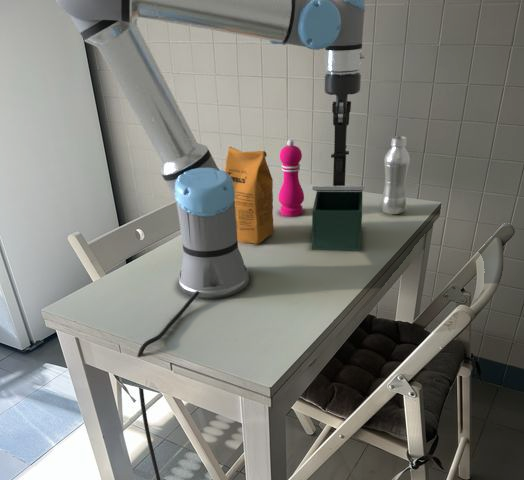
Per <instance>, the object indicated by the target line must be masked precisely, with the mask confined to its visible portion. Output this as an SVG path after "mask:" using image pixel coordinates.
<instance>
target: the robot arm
mask: <svg viewBox="0 0 524 480" xmlns="http://www.w3.org/2000/svg"><path fill="white" fill-rule="evenodd" d="M54 1H55V2H56V4H57V5H58V6H59V7H60V8H61V9H62V10H63V11H64V12H65V13H66V14H68V15H69V17H70V19H71V20H72V22H73V23H74V25H75V28H76V29H77V30H78V32H79V34H80V35H81V37H82V39H83V41H84V42H85V43H87V44H90V45H92V46H93V47H96V48H97V49H98V51H99V52H100V54H101V56H102V58H103V60H104V62H105V63H106V65H107V67H108V69H109V71H110V72H111V74H112V75H113V77H114V79H115V81H116V83H117V85H118V87H119V88H120V91H122V93H123V95H124V97H125V98H126V100H127V102H128V104H129V106H130V107H131V109H132V111H133V113H134V114H135V116H136V118H137V120H138V122H139V123H140V125H141V127H142V129H143V130H144V133H145V134H146V136H147V138H148V139H149V141H150V143H151V144H152V146H153V148H154V150H155V152H156V153H157V155H158V157H159V159H160V161H161V167H160V170H159V171H160V174H161V176H162V179H163V180H164V181H165V183H166V185H167V187H168V189H169V190H170V192H171V194H172V196H173V198H174V199H175V204H176V209H177V215H178V221H179V228H180V236H181V237H180V238H181V243H182V251H183V254H182V258H181V259H182V260H181V268H180V271H179V275H178V282H179V283H178V284H179V289H180V290H181V291H182V292H183V293H184V294H186V295H187V296H190V298H189V299H188V300H187V302H185V304H184V305H183V306H182V308H181V309H180V310H179V311H178V312H177V313H176V314H175V315H174V316H173V318H171V319H170V321H169V322H168V323H167V324H166V325H165V327H164V328H163V329H162V330H161V331H160V332H159V333H158V334H157V335H155V336H154V337H152V338H150V339H148V340H146V341H144V343H143V344H142V345H141V346H140V348H139V350H138V352H137V355H136V357H137V358H140V357H142V356H143V355H144V352H145V349H146V348H147V347H148V346H149V345H151V344H153V343H156V342H157V341H159V340H160V339H162V337H164V336H165V335H166V333H167V332H168V331H169V329H170V328H171V327H172V326H173V325H174V323H176V321H178V319H179V318H180V317H181V316H182V315H183V314H184V313H185V311H186V310H187V309H188V308H189V307H190V305H191V304H192V303H193V302H194V300H196V299H197V298H198V299H208V300H209V299H212V300H213V299H222V298H227V297H230V296H233V295H235V294H239V292H241V291H243V290H244V289H245V288H246V287H247V286H248V285H249V281H250V280H249V279H250V278H249V270H248V267H247V266H246V264H245V262H244V258H243V256H242V253H241V251H240V249H239V241H238V240H237V226H236V213H235V200H234V199H235V189H234V186H233V181H232V178H231V177H230V175H229V174H227V173H226V172H225V170H220V168H219V167H218V166H217V164H216V161H215V159H214V158H213V156H212V154H211V152H210V149H209V148H208V145H205V144H202V143H199V142H197V139H196V137H195V135H194V133H193V132H192V130H191V128H190V126H189V124H188V122H187V120H186V118H185V116H184V114H183V112H182V110H181V108H180V106H179V105H178V102H177V100H176V98H175V96H174V94H173V92H172V91H171V88H170V87H169V85H168V82H167V80H166V79H165V77H164V75H163V72H162V71H161V69H160V67H159V65H158V63H157V62H156V60H155V57H154V56H153V54H152V52H151V50H150V48H149V45H148V44H147V42H146V40H145V38H144V37H143V34H142V32H141V31H140V29H139V26H138V19H139V18H142V19H147V20H153V21H159V22H165V23H170V24H176V25H181V26H188V27H193V28H198V29H204V30H210V31H215V32H222V33H227V34H233V35H239V36H244V37H249V38H253V39H260V40H267V41H269V42H270V44H272V45H283V46H286V45H292V46H297V47H298V46H299V47H304V48H306V49H309V50H315V51H319V50H323V49H324V71H325V72H327V73H325V75H324V93H325V94H327V95H330V96H336V98H335V101H332V105H331V106H332V107H331V113H332V125H333V126H334V141H333V143H334V147H333V149H334V150H333V153H331V154H330V158H332V159H333V173H332V176H333V179H332V187H346V169H347V166H346V165H347V156H348V155H350V151H349V150H347V132H348V131H347V129H348V126H349V123H350V113H351V109H352V101H351V100H348V96H349V95H355V94H358V93H360V92H361V83H362V82H361V78H362V75H361V72H359V71H360V70H361V69H362V60H363V59H365V57H366V55H365V53H364V52H362V51H363V36H364V23H365V11H366V9H365V6H366V5H365V4H366V3H365V2H366V1H365V0H54ZM138 392H139V402H140V409H141V415H142V422H143V426H144V432H145V437H146V441H147V445H148V449H149V454H150V458H151V462H152V466H153V470H154V474H155V475H154V476H155V479H156V480H162V479H161V476H160V471H159V467H158V463H157V458H156V455H155V450H154V445H153V442H152V437H151V433H150V427H149V422H148V417H147V410H146V401H145V394H144V393H145V392H144V389H143V388H142V387H140V386H138Z"/></svg>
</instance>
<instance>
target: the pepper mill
mask: <svg viewBox="0 0 524 480" xmlns="http://www.w3.org/2000/svg"><path fill="white" fill-rule="evenodd" d="M286 144H287V145H285V146H284V147H282V148H281V150H280V152H279V161H280V162H281V163H282V164H281V171H282V172H283V181H282V185H281V187H280V189H279V192H278V202H279V203H280V214H281V215H282V216H284V217H297V216H300V215H302V214H303V205H302V203H303V202H304V201H305V193H304V190H303V188H302V185H301V182H300V179H299V171H300V170H301V168H300V167H301V164H300V162H301V161H302V159H303V153H302V150H301V149H300V147H298V146H296V145H295V142H294V140H293V139H288V140H287V141H286Z"/></svg>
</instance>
